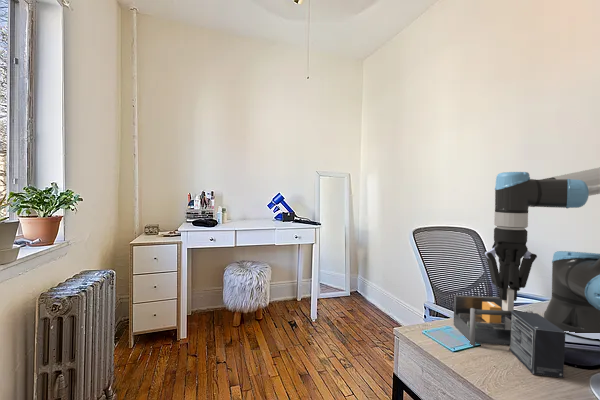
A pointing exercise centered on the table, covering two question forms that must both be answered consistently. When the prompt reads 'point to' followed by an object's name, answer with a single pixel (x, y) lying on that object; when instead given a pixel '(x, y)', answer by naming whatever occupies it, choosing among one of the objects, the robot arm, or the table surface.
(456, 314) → the dark gray open box
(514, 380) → the table surface
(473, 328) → the gray open frame
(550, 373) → the small box
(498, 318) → the orange cardboard carton
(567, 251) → the robot arm
